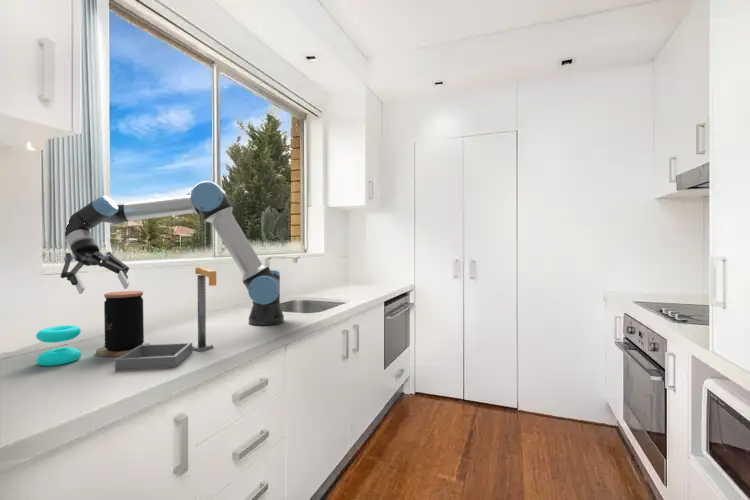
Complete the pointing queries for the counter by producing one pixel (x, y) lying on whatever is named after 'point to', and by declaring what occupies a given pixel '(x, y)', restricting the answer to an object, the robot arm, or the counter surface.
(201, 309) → the post
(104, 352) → the coaster
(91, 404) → the counter surface
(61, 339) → the donuts
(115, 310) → the coffee jar
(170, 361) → the grey square tray
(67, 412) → the counter surface
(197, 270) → the clip arm
